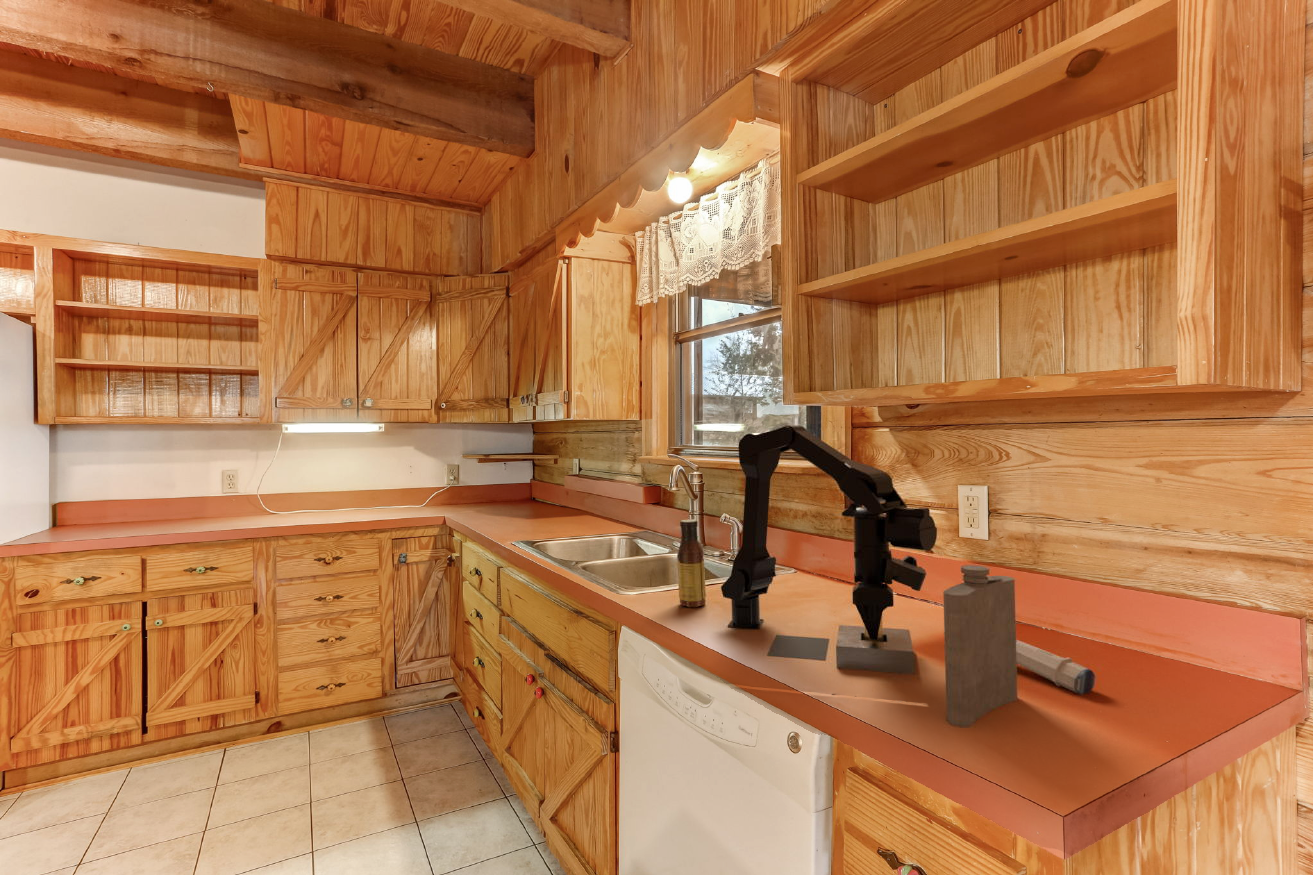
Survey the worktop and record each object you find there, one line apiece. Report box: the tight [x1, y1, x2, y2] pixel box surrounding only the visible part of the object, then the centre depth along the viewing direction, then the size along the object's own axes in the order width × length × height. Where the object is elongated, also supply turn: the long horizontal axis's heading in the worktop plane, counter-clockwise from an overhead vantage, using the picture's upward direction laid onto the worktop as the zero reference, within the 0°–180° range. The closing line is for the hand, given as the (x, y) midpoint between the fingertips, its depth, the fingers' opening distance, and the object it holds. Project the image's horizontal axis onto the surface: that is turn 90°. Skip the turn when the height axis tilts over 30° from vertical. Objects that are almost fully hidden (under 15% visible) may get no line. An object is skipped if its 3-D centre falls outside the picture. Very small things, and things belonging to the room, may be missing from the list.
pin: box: [863, 616, 884, 642], centre depth 110 cm, size 3×3×9 cm
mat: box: [766, 634, 830, 661], centre depth 117 cm, size 12×10×1 cm
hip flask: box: [943, 564, 1018, 728], centre depth 90 cm, size 16×4×20 cm, turn 126°
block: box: [835, 624, 915, 675], centre depth 110 cm, size 12×12×4 cm
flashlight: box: [1016, 639, 1097, 695], centre depth 106 cm, size 5×7×25 cm
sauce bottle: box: [676, 518, 707, 608], centre depth 149 cm, size 6×6×20 cm
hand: (873, 634), depth 110 cm, fingers open, 5 cm apart
